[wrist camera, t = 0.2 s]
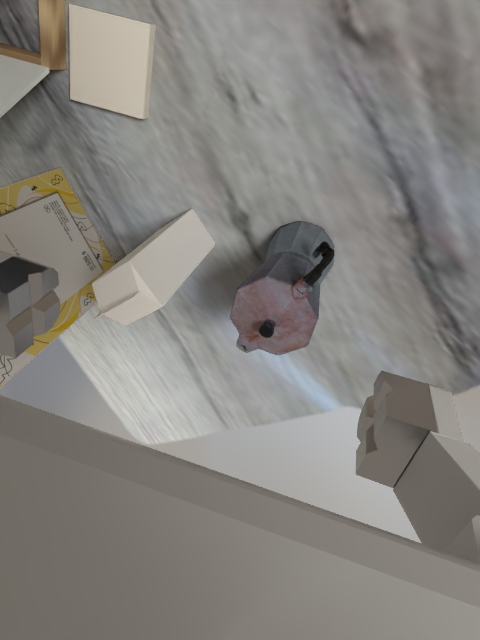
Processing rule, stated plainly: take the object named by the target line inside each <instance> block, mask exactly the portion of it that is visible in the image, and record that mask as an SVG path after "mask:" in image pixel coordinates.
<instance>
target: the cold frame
mask: <svg viewBox="0 0 480 640" xmlns="http://www.w3.org/2000/svg"><path fill="white" fill-rule="evenodd" d="M39 23H40V47H41V54H40V53H37V52H33V51H29V50H25V49H22V48H18V47H14V46H10V45H7V44H3V43H0V54H1V55H4V56H8V57H12V58H15V59H19V60H23V61H26V62H30V63H34V64H37V65H41V66H45V67H48V68H49V70H62V69H66V36H65V0H39Z"/></svg>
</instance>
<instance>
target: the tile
mask: <svg viewBox="0 0 480 640" xmlns="http://www.w3.org/2000/svg"><path fill="white" fill-rule="evenodd" d="M155 29H156V25H153V24H150V23H146V22H142V21H138V20H134V19H130V18H126V17H122V16H118V15H114V14H110V13H106V12H102V11H98V10H94V9H90V8H86V7H82V6H78V5H73V4H69V32H70V99H71V100H75V101H79V102H82V103H86V104H89V105H93V106H96V107H100V108H104V109H107V110H111V111H114V112H118V113H122V114H125V115H129V116H132V117H136V118H140V119H147V118H148V115H149V103H150V91H151V78H152V66H153V54H154V41H155Z"/></svg>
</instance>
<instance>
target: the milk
mask: <svg viewBox="0 0 480 640" xmlns="http://www.w3.org/2000/svg"><path fill="white" fill-rule="evenodd" d="M214 246H215V243H214V241H213V239H212V238H211V236H210V235H209V233H208V232H207V230H206V229H205V227H204V226H203V224H202V222H201V221H200V219H199V218H198V216H197V215H196V213H195V212H194V210H193V209H190V210H189V211H187V212H185V213H184V214H182V215H181V216H179V217H178V218H176V219H174V220H173V221H171V222H170V223H168V224H166V225H165V226H163V227H162V228H160V229H159V230H158V231H157V232H155V233H154V234H153V235H152V236H150V237H149V238H148V239H147V240H145V241H144V242H143V243H142V244H140V245H139V246H138V247H137V248H135V249H134V250H133V251H132V252H130V253H129V254H128V255H127V256H125V257H124V258H123V259H122V260H120V261H119V262H118V263H117V264H115V265H114V266H113V267H112V268H110V269H109V270H108V271H107V272H105V273H104V274H103V275H102V276H100V277H99V278H98V279H97V280H95V281H94V282H93V283H92V287H93V290H94V294H95V297H96V300H97V304H98V307H99V310H100V313H99V314H98V315H97V316H96V317H95V318H94V319H97V318H98V317H100V316H102V315H105V316H107V317H109V318H110V319H112V320H114V321H116V322H118V323H120V324H121V325H123V326H127V325H129V324H131V323H132V322H134V321H136V320H138V319H140V318H142V317H144V316H146V315H148V314H150V313H152V312H154V311H156V310H158V309H160V308H162V307H163V306H164V305H165V304H166V303H167V301H168V300H169V299H170V298H171V297H172V296H173V294H174V293H175V292H176V291H177V290H178V288H179V287H180V286H181V285H182V284H183V283H184V281H185V280H186V279H187V278H188V277H189V275H190V274H191V273H192V272H193V271H194V269H195V268H196V267H197V266H198V265H199V264H200V262H201V261H202V260H203V259H204V258H205V256H206V255H207V254H208V253H209V252H210V251H211V249H212V248H213V247H214Z"/></svg>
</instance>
